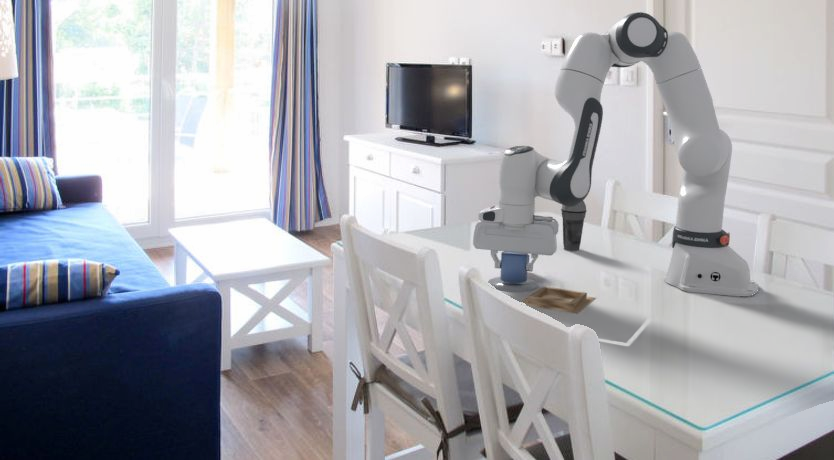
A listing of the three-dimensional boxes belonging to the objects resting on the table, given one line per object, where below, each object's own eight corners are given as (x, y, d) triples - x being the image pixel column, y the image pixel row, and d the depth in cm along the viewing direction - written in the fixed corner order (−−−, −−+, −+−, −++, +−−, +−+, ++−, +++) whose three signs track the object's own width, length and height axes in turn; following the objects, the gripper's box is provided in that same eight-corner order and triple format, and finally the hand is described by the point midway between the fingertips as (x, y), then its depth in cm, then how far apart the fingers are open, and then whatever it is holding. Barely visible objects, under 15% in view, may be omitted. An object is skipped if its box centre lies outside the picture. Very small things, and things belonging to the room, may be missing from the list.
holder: (595, 300, 208) (596, 292, 207) (577, 316, 196) (577, 307, 195) (539, 291, 214) (539, 283, 214) (518, 306, 202) (518, 297, 201)
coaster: (543, 284, 220) (544, 280, 219) (526, 296, 209) (526, 292, 209) (499, 277, 225) (499, 274, 225) (480, 289, 215) (480, 285, 214)
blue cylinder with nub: (519, 284, 213) (520, 258, 211) (495, 280, 216) (496, 254, 215) (537, 276, 221) (538, 250, 219) (513, 271, 224) (514, 246, 223)
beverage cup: (557, 245, 261) (561, 178, 256) (582, 246, 260) (586, 179, 256) (560, 251, 254) (564, 183, 249) (585, 252, 253) (590, 183, 249)
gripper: (561, 214, 213) (558, 270, 216) (478, 208, 219) (476, 262, 222) (556, 219, 207) (553, 276, 210) (472, 213, 213) (470, 268, 216)
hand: (513, 269), depth 216 cm, fingers closed on blue cylinder with nub, 6 cm apart
